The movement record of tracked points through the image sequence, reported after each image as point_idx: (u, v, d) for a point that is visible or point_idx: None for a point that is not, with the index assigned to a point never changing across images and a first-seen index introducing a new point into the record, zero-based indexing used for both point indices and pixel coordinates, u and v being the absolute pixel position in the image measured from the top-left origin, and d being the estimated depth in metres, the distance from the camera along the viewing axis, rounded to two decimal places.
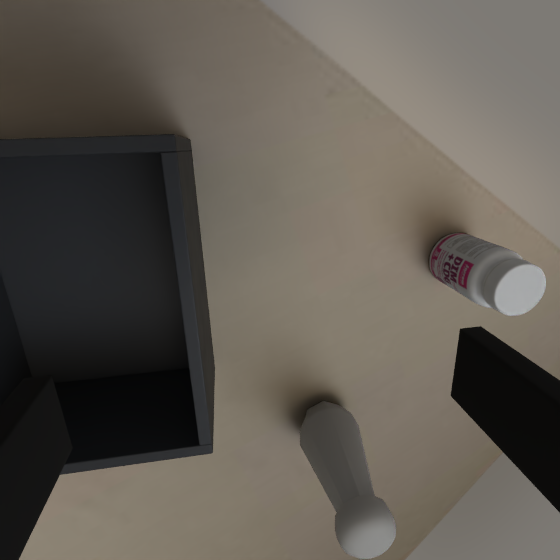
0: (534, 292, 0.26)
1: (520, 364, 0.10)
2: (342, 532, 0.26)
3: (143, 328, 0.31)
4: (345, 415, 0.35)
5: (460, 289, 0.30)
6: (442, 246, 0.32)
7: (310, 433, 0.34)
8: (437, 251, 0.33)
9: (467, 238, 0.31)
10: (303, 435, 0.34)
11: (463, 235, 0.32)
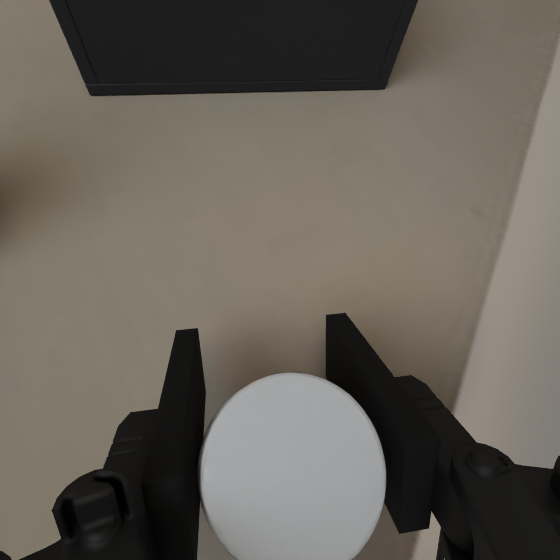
0: (292, 530, 0.07)
1: (355, 344, 0.12)
2: None
3: None
4: None
5: None
6: None
7: None
8: None
9: None
10: None
11: None
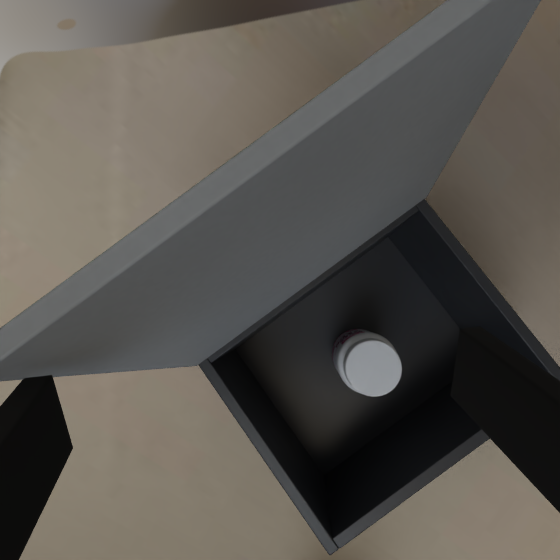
0: (380, 383, 0.26)
1: (520, 364, 0.10)
2: None
3: (330, 405, 0.34)
4: None
5: (338, 348, 0.30)
6: (359, 329, 0.34)
7: None
8: (353, 329, 0.34)
9: None
10: None
11: None
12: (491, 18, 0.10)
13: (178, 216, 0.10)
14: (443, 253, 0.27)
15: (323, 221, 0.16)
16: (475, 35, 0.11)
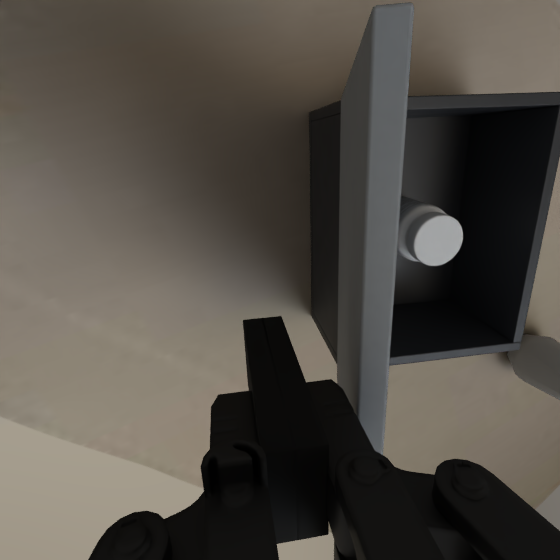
0: (452, 243, 0.28)
1: (279, 347, 0.12)
2: None
3: (410, 265, 0.38)
4: None
5: None
6: None
7: (533, 355, 0.40)
8: None
9: None
10: (522, 359, 0.41)
11: None
12: None
13: None
14: None
15: None
16: None
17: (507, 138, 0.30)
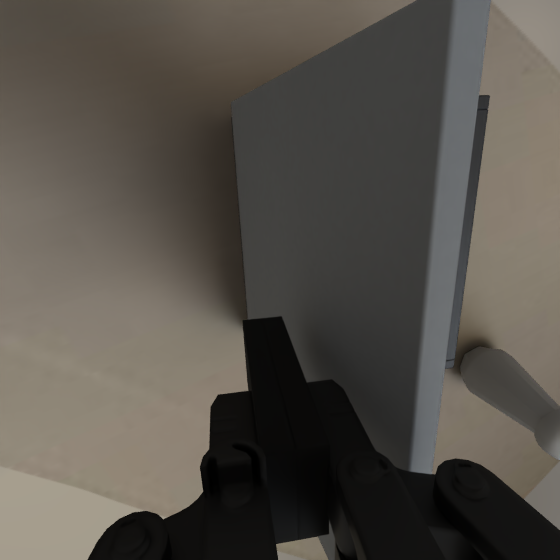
0: None
1: (280, 347, 0.12)
2: (552, 436, 0.31)
3: None
4: (508, 354, 0.40)
5: None
6: None
7: (482, 369, 0.39)
8: None
9: None
10: (472, 373, 0.40)
11: None
12: None
13: None
14: None
15: None
16: None
17: None
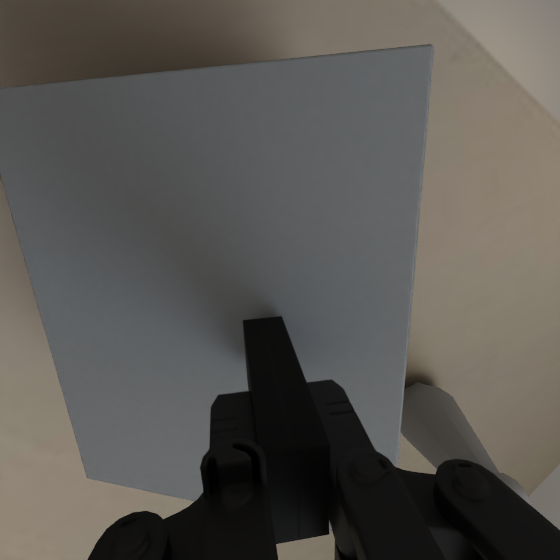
0: None
1: (280, 347, 0.12)
2: None
3: None
4: (446, 395, 0.34)
5: None
6: None
7: (414, 413, 0.33)
8: None
9: None
10: (404, 416, 0.34)
11: None
12: None
13: None
14: None
15: None
16: None
17: None
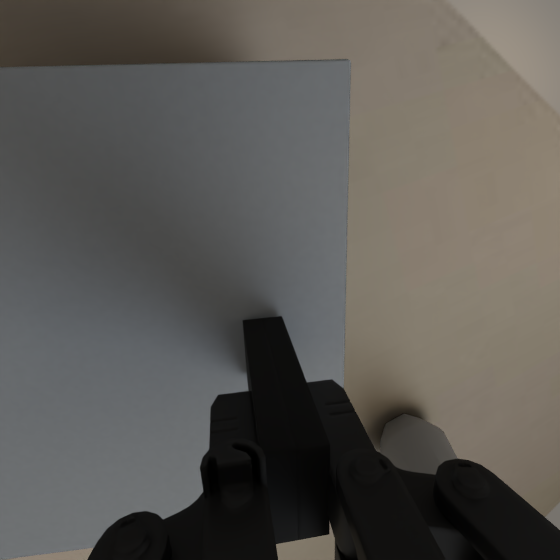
0: None
1: (280, 347, 0.12)
2: None
3: None
4: (437, 431, 0.30)
5: None
6: None
7: (399, 453, 0.29)
8: None
9: None
10: (388, 456, 0.30)
11: None
12: None
13: None
14: None
15: None
16: None
17: None
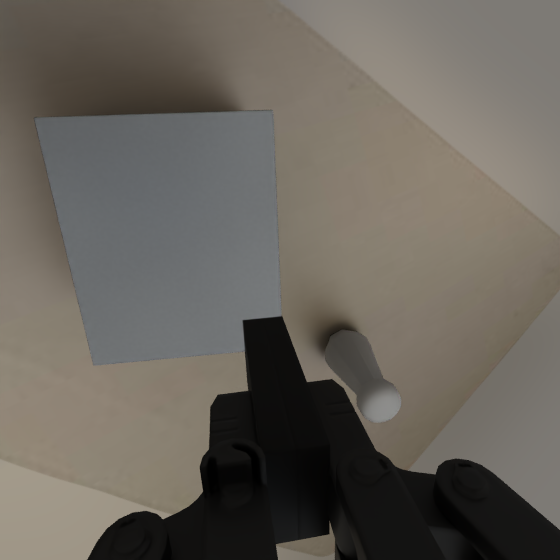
0: None
1: (280, 347, 0.12)
2: (363, 401, 0.36)
3: None
4: (361, 335, 0.45)
5: None
6: None
7: (334, 348, 0.44)
8: None
9: None
10: (328, 351, 0.45)
11: None
12: None
13: None
14: None
15: None
16: None
17: None
